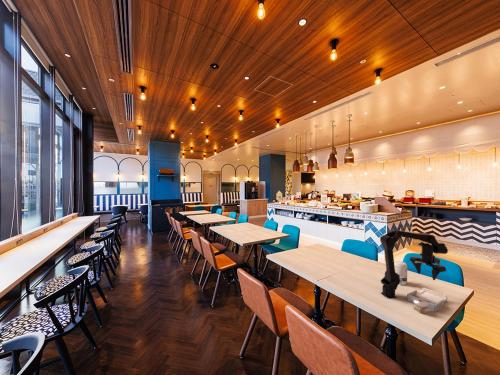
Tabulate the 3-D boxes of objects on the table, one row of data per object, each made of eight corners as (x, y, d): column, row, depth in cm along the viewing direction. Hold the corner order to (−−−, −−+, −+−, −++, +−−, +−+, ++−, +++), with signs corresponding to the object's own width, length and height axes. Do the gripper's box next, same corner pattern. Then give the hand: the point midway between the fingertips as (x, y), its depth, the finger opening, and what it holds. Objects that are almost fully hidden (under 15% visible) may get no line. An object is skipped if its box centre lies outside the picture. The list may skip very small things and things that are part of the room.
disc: (420, 308, 115) (420, 304, 115) (409, 301, 122) (409, 297, 122) (431, 307, 116) (431, 303, 116) (420, 300, 123) (420, 297, 123)
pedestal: (420, 313, 117) (420, 306, 117) (414, 309, 121) (414, 302, 121) (426, 313, 117) (426, 306, 117) (420, 308, 121) (420, 302, 121)
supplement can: (391, 279, 158) (391, 260, 158) (404, 281, 156) (404, 261, 155) (395, 284, 150) (396, 264, 150) (409, 286, 148) (409, 265, 148)
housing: (435, 312, 118) (435, 305, 117) (407, 300, 130) (407, 294, 130) (443, 306, 123) (443, 299, 123) (416, 295, 136) (416, 289, 136)
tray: (439, 306, 122) (439, 301, 122) (415, 297, 133) (415, 291, 133) (447, 301, 128) (447, 295, 128) (423, 292, 139) (423, 287, 139)
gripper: (453, 257, 126) (452, 282, 126) (422, 248, 144) (421, 270, 144) (439, 258, 123) (438, 284, 124) (409, 248, 142) (408, 271, 142)
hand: (426, 276), depth 133 cm, fingers open, 9 cm apart
